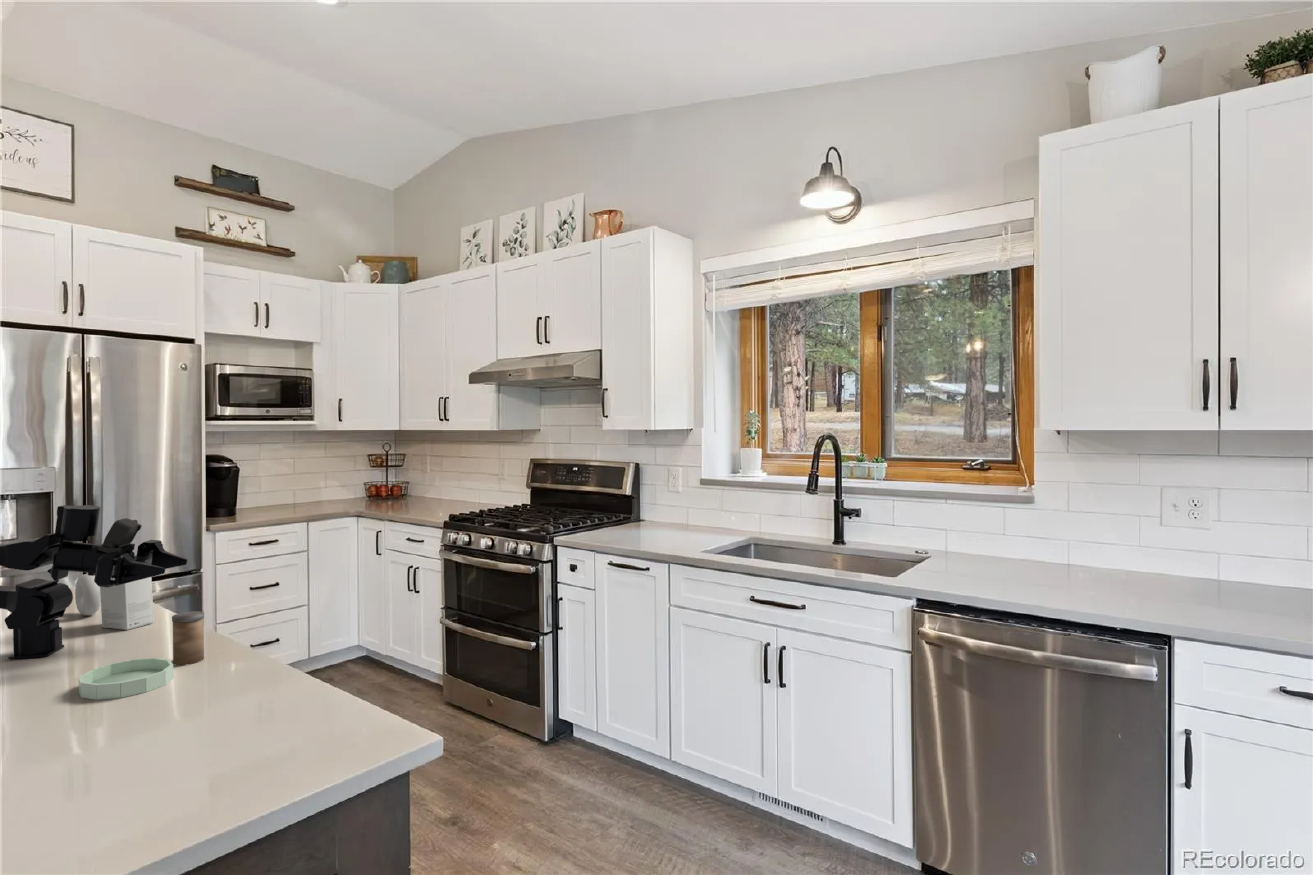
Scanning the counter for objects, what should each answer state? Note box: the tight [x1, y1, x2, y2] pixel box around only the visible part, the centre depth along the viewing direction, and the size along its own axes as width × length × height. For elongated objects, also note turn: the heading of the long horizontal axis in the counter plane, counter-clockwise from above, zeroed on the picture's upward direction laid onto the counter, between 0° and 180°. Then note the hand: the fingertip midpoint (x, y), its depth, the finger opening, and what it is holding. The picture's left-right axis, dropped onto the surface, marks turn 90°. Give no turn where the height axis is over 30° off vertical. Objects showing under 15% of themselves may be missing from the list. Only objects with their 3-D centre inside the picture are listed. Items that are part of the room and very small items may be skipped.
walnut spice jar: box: [171, 610, 205, 666], centre depth 136 cm, size 5×5×9 cm
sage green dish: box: [78, 657, 174, 701], centre depth 124 cm, size 13×13×2 cm
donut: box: [74, 573, 101, 617], centre depth 168 cm, size 10×4×10 cm, turn 52°
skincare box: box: [100, 577, 155, 631], centre depth 159 cm, size 8×7×16 cm
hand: (176, 566), depth 144 cm, fingers open, 9 cm apart
